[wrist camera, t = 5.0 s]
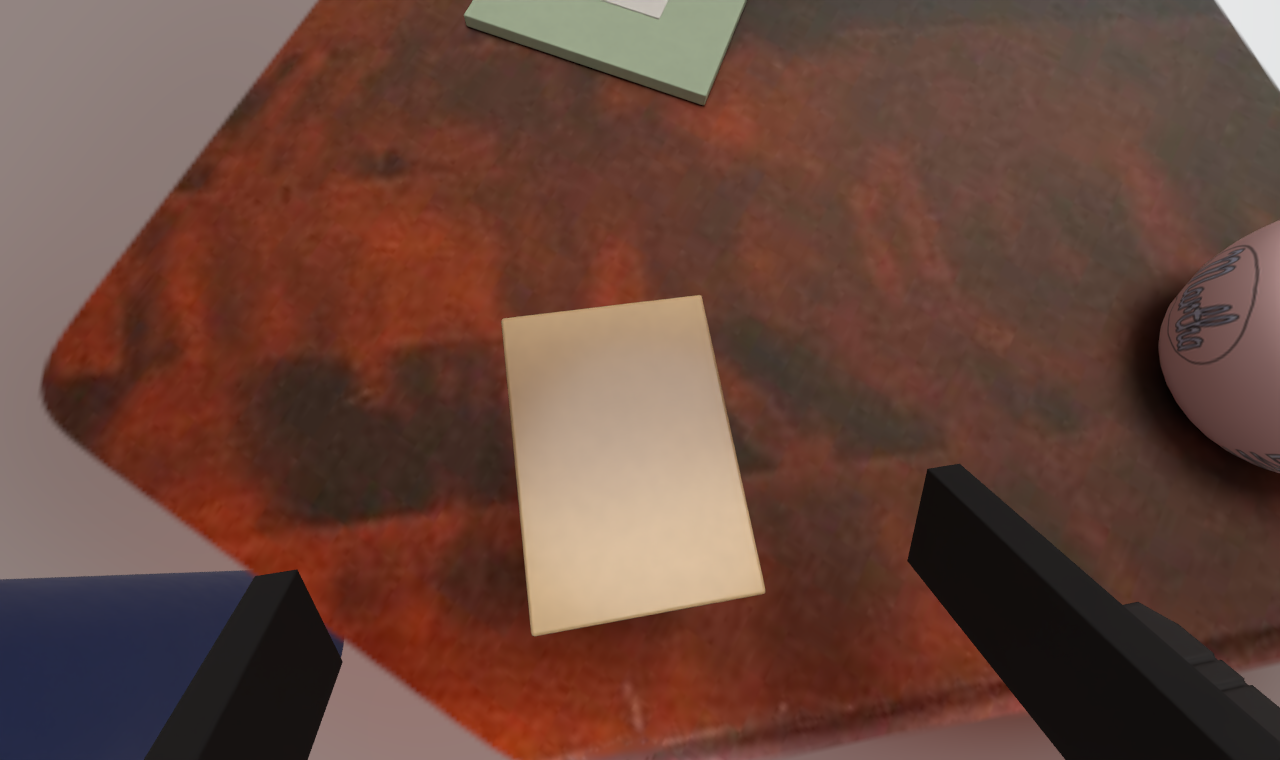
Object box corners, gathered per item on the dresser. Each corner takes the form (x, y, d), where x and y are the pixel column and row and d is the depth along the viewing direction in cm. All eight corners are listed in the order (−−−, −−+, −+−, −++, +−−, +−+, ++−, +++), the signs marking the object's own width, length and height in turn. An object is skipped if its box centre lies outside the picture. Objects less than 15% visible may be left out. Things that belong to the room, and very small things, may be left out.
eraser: (689, 585, 19) (807, 623, 8) (559, 608, 18) (498, 683, 8) (659, 418, 21) (723, 265, 10) (540, 436, 20) (468, 294, 9)
